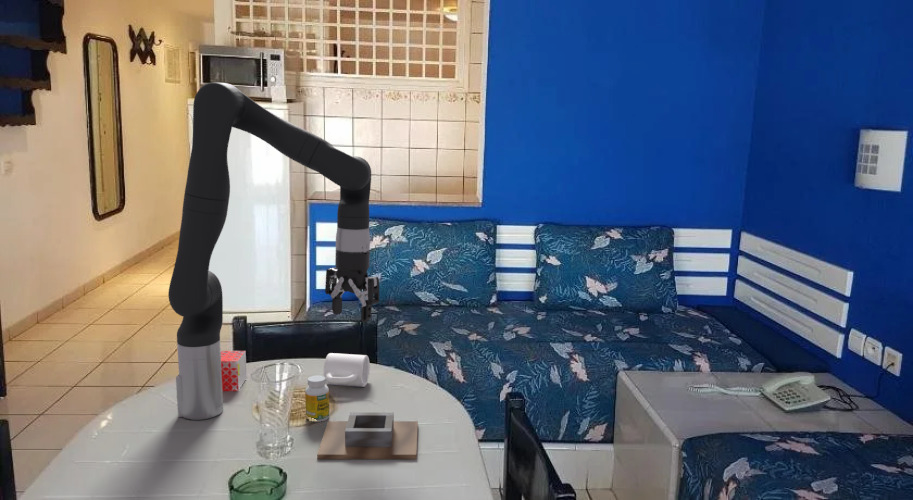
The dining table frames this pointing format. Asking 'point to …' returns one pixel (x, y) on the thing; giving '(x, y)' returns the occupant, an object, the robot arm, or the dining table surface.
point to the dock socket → (369, 438)
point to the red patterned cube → (233, 369)
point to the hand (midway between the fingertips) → (351, 317)
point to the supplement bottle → (317, 398)
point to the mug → (346, 369)
